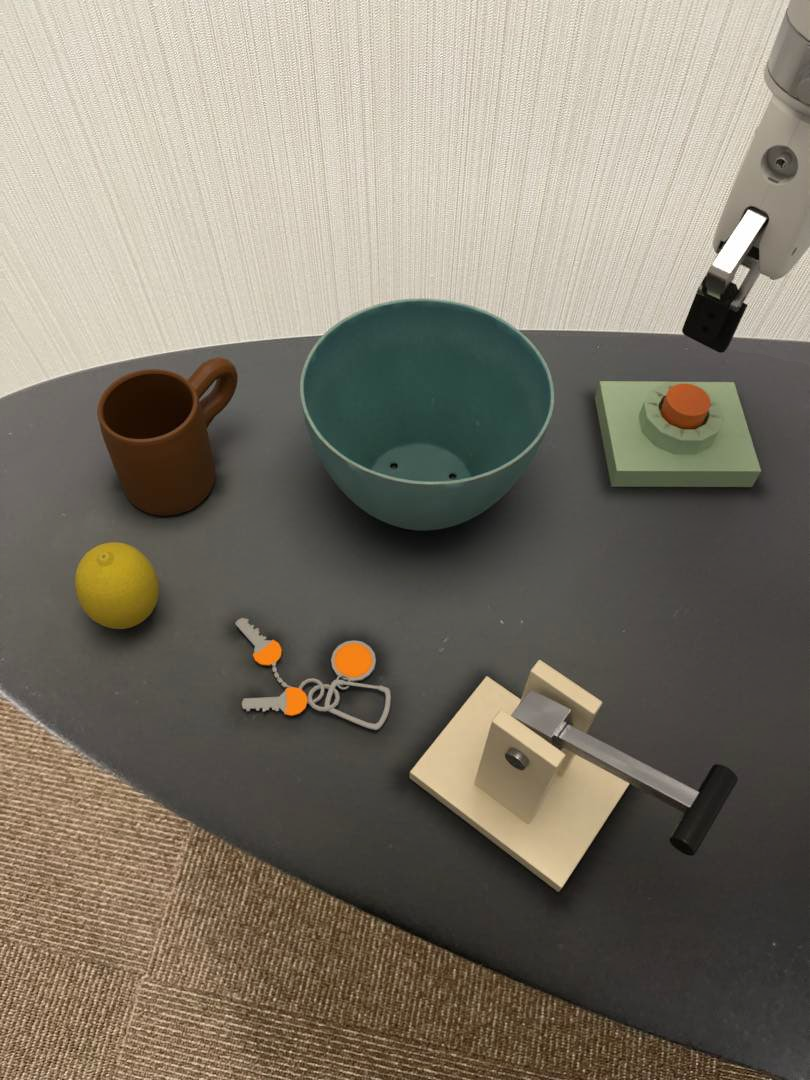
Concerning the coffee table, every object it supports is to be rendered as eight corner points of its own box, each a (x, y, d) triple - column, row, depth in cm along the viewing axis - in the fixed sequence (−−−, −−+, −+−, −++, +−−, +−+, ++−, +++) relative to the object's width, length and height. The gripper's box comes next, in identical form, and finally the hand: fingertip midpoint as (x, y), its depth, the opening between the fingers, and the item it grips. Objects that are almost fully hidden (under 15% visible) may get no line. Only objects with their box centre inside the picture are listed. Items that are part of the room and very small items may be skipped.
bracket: (629, 783, 62) (678, 715, 52) (558, 892, 58) (597, 840, 48) (484, 682, 66) (505, 600, 56) (408, 778, 61) (416, 707, 52)
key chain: (405, 654, 66) (406, 649, 66) (379, 746, 62) (379, 742, 62) (240, 613, 68) (239, 608, 67) (204, 701, 64) (202, 696, 63)
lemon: (95, 585, 69) (65, 525, 62) (169, 579, 69) (147, 519, 63) (89, 650, 66) (57, 594, 59) (166, 644, 66) (143, 588, 60)
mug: (214, 404, 80) (197, 322, 72) (275, 450, 77) (264, 370, 69) (104, 483, 74) (73, 405, 66) (165, 536, 72) (140, 461, 64)
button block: (726, 398, 82) (741, 367, 79) (752, 487, 76) (769, 457, 73) (594, 398, 81) (603, 366, 78) (610, 486, 76) (621, 456, 73)
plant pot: (289, 425, 78) (278, 317, 68) (489, 388, 82) (506, 280, 71) (336, 602, 69) (331, 507, 59) (561, 553, 72) (592, 455, 62)
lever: (736, 790, 49) (739, 767, 48) (694, 864, 47) (695, 843, 45) (547, 694, 56) (543, 671, 54) (501, 755, 54) (496, 733, 52)
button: (699, 397, 77) (705, 383, 76) (708, 430, 75) (715, 415, 74) (657, 397, 77) (663, 382, 75) (665, 429, 75) (671, 415, 73)
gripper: (848, 161, 44) (729, 400, 58) (964, 20, 52) (834, 261, 66) (708, 103, 46) (627, 347, 60) (839, -24, 54) (740, 219, 68)
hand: (735, 302), depth 63 cm, fingers open, 9 cm apart
